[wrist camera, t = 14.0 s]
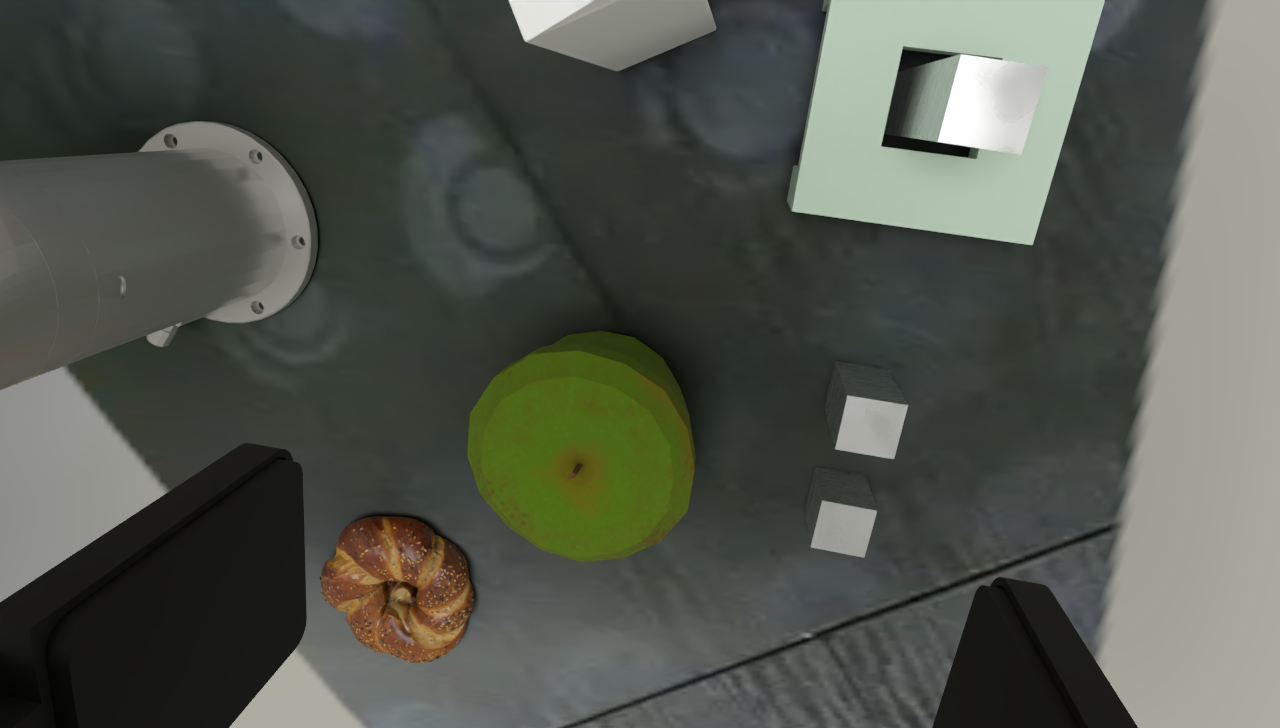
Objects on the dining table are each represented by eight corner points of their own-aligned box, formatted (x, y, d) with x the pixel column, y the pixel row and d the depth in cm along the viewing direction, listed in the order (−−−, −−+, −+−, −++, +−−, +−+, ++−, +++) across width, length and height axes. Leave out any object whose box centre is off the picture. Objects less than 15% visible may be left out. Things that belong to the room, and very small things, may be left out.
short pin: (854, 519, 49) (864, 557, 45) (805, 510, 50) (810, 547, 45) (865, 475, 48) (877, 510, 44) (815, 466, 48) (822, 500, 44)
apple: (478, 367, 49) (404, 437, 39) (634, 271, 46) (600, 318, 35) (584, 517, 52) (542, 621, 41) (739, 436, 48) (737, 527, 38)
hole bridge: (1000, 230, 42) (1032, 245, 38) (787, 200, 44) (791, 211, 39) (1066, -4, 39) (1110, -21, 34) (829, -31, 40) (840, -50, 35)
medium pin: (876, 417, 47) (894, 459, 41) (824, 408, 47) (834, 449, 42) (888, 369, 46) (908, 405, 40) (835, 360, 46) (847, 395, 40)
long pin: (940, 142, 41) (1021, 154, 29) (882, 133, 42) (937, 141, 29) (957, 81, 40) (1048, 66, 28) (896, 71, 41) (961, 53, 28)
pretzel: (510, 621, 56) (495, 656, 52) (389, 660, 59) (367, 695, 55) (432, 486, 53) (411, 513, 50) (308, 533, 56) (280, 562, 52)
